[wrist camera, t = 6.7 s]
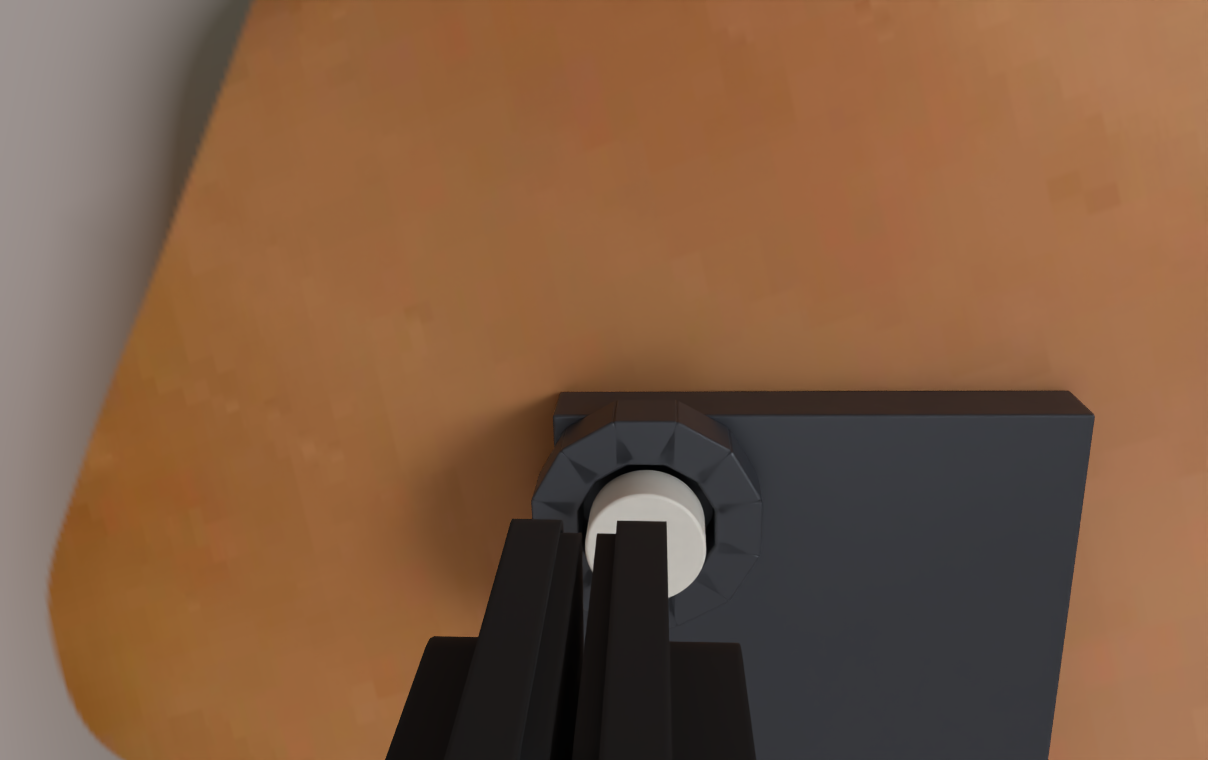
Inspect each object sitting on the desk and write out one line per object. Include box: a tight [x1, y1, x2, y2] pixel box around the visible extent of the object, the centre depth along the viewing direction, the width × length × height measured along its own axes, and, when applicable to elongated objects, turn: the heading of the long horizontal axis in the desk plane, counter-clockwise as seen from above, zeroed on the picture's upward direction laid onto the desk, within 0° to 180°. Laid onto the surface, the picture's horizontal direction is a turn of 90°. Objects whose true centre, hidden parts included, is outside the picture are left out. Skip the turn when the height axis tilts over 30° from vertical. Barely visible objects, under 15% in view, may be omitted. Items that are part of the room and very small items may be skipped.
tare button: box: [585, 470, 706, 598], centre depth 27 cm, size 3×3×2 cm
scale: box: [531, 391, 1095, 760], centre depth 30 cm, size 14×14×4 cm
